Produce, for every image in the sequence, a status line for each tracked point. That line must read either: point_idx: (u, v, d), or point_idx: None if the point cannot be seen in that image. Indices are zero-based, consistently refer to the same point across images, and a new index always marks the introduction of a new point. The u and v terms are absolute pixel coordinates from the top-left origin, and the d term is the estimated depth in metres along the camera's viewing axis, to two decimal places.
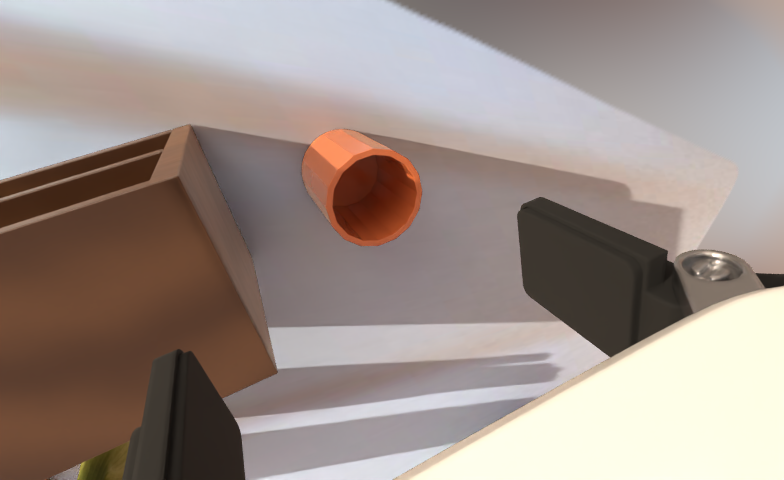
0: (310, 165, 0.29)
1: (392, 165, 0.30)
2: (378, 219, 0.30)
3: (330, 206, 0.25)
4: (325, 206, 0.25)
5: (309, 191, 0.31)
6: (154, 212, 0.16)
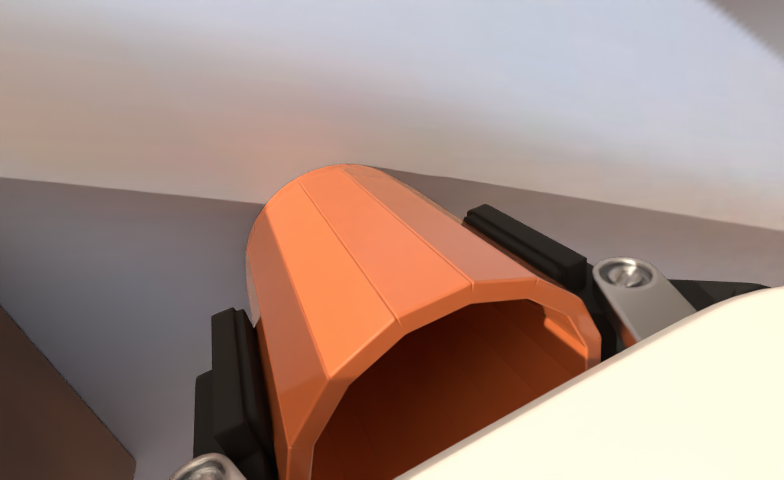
0: (257, 274, 0.11)
1: None
2: (440, 408, 0.12)
3: None
4: None
5: None
6: None
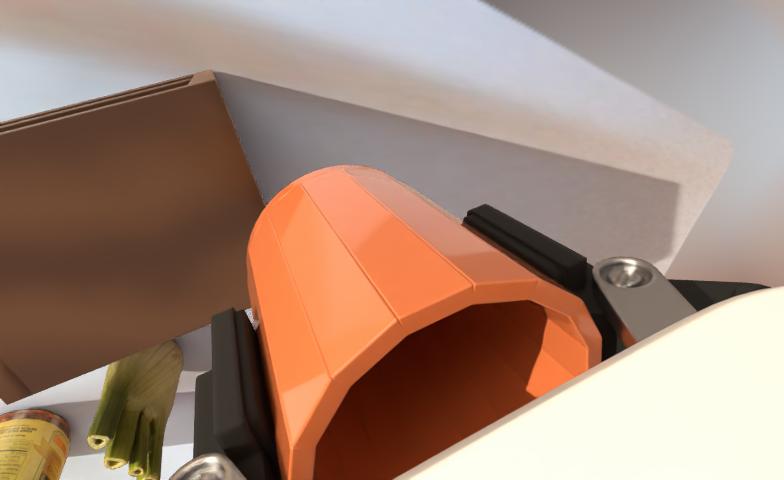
0: (258, 274, 0.11)
1: None
2: (441, 408, 0.12)
3: None
4: None
5: None
6: (192, 113, 0.18)
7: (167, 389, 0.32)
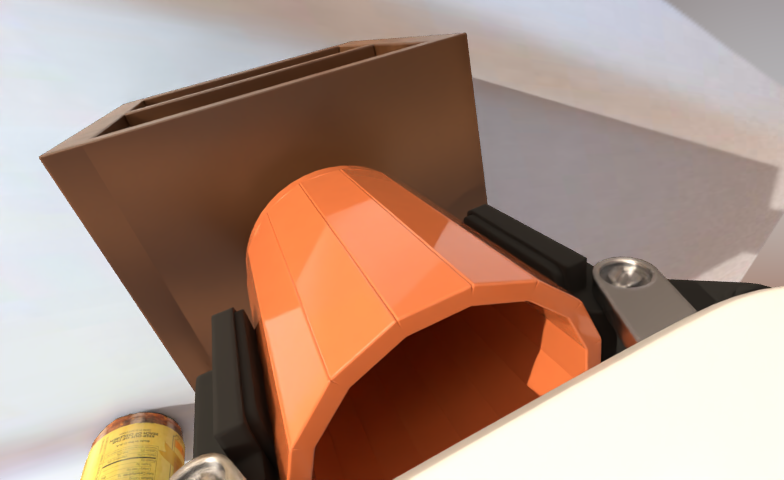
0: (257, 275, 0.11)
1: None
2: (440, 409, 0.12)
3: None
4: None
5: None
6: (438, 73, 0.15)
7: None
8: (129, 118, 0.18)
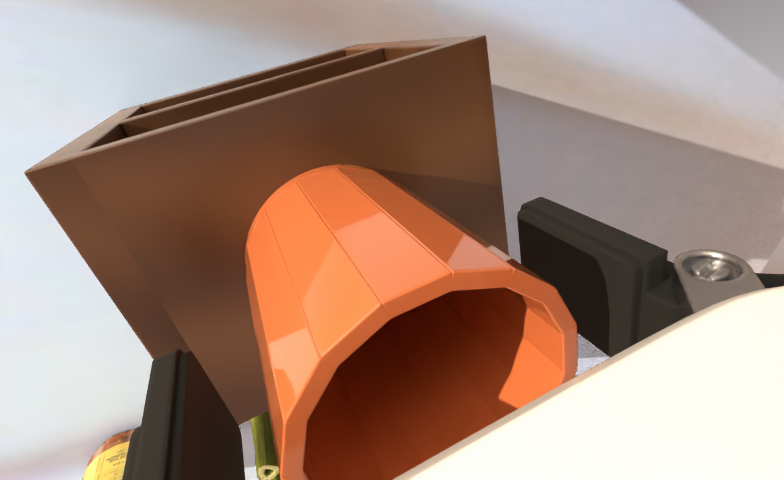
0: (255, 268, 0.11)
1: None
2: (430, 396, 0.12)
3: (296, 471, 0.07)
4: (279, 467, 0.07)
5: None
6: (455, 79, 0.14)
7: None
8: (125, 127, 0.17)
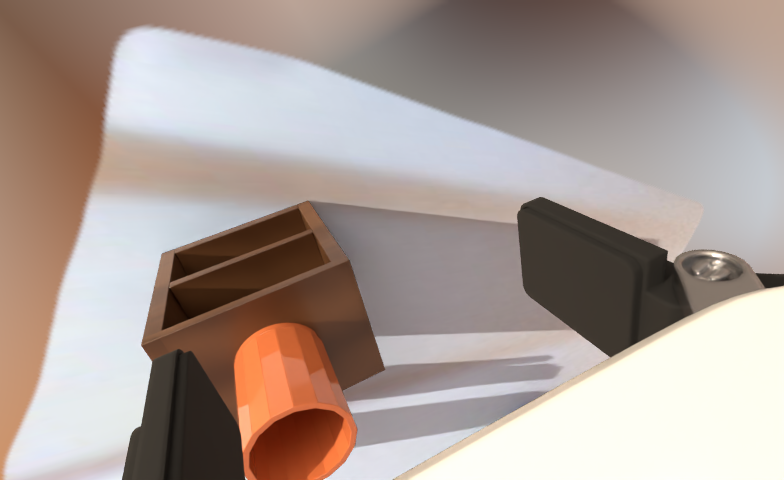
0: (237, 382, 0.26)
1: None
2: (315, 435, 0.27)
3: (246, 468, 0.22)
4: None
5: None
6: (335, 280, 0.29)
7: None
8: (172, 288, 0.32)
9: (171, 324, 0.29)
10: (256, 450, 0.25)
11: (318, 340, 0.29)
